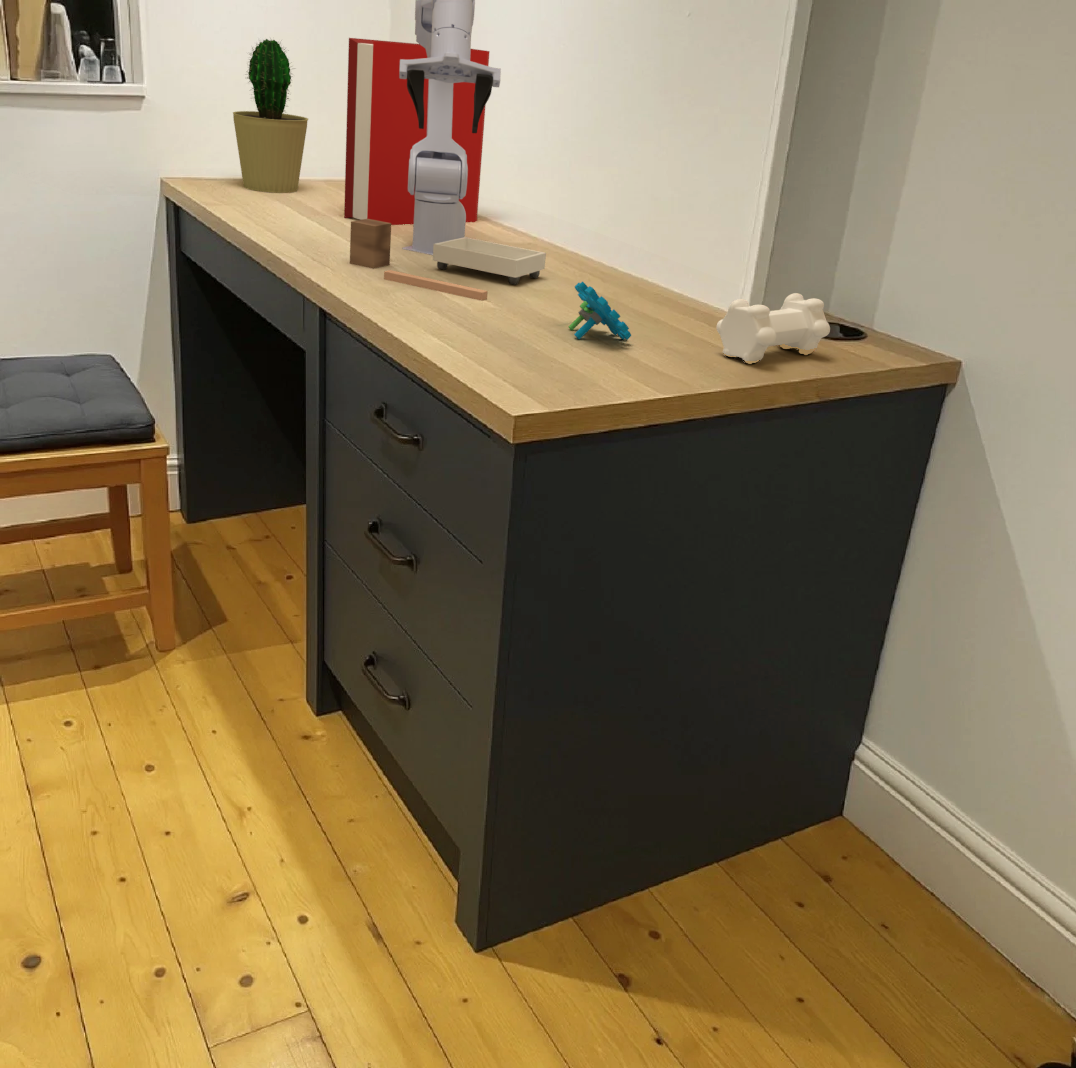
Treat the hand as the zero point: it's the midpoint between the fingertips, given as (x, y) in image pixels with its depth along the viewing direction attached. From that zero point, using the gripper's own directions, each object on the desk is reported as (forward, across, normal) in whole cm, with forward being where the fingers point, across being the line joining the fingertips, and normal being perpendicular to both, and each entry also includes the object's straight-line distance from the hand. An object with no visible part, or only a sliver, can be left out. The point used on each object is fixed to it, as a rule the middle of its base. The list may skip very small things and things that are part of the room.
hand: (448, 127), depth 159 cm
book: (-10, -4, +61) cm, 62 cm away
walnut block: (+15, -11, +20) cm, 27 cm away
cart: (+14, +8, +19) cm, 25 cm away
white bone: (+34, +44, -11) cm, 57 cm away
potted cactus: (-23, -35, +82) cm, 92 cm away
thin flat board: (+17, +5, +16) cm, 24 cm away
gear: (+32, +21, -9) cm, 39 cm away
